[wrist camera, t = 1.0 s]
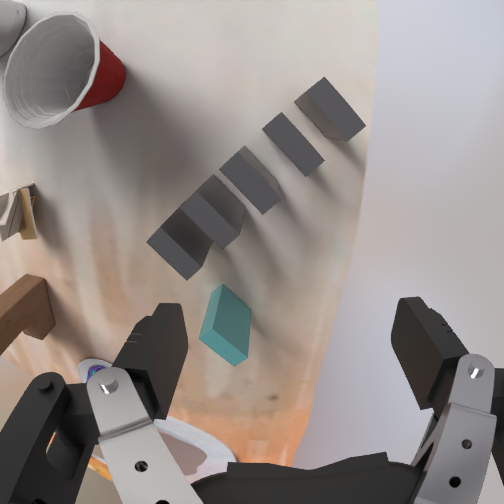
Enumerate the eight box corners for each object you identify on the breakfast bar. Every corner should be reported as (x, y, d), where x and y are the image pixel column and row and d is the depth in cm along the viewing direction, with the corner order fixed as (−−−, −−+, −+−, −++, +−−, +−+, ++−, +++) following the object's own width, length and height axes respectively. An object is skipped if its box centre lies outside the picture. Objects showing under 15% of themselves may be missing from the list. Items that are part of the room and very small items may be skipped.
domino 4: (239, 318, 39) (234, 366, 31) (211, 293, 38) (198, 338, 30) (251, 309, 39) (247, 357, 30) (222, 284, 37) (212, 328, 29)
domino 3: (232, 218, 34) (222, 249, 26) (200, 186, 33) (179, 207, 24) (245, 206, 33) (239, 234, 25) (213, 173, 32) (196, 190, 24)
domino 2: (262, 191, 33) (262, 214, 24) (230, 158, 31) (218, 169, 23) (276, 179, 32) (281, 198, 24) (244, 145, 31) (237, 151, 23)
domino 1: (204, 243, 35) (187, 280, 27) (173, 213, 34) (146, 241, 26) (216, 232, 35) (201, 267, 26) (185, 201, 33) (160, 226, 25)
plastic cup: (142, 123, 30) (86, 126, 19) (65, 125, 30) (-2, 134, 19) (155, 33, 26) (106, -3, 15) (76, 43, 26) (13, 25, 15)
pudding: (149, 382, 46) (141, 405, 41) (127, 410, 50) (119, 431, 45) (88, 344, 43) (74, 364, 38) (74, 378, 47) (62, 396, 42)
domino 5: (294, 163, 31) (305, 176, 23) (262, 129, 30) (261, 129, 22) (308, 151, 31) (324, 160, 23) (276, 116, 30) (281, 111, 21)
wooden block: (56, 325, 42) (-2, 399, 25) (37, 319, 42) (-21, 387, 25) (45, 277, 38) (-29, 347, 22) (25, 272, 38) (-47, 336, 22)
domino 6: (325, 137, 30) (348, 140, 22) (293, 101, 29) (305, 92, 21) (339, 125, 30) (366, 125, 21) (307, 90, 28) (324, 76, 20)
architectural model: (43, 180, 33) (7, 194, 26) (51, 229, 36) (19, 250, 29) (27, 183, 33) (-8, 197, 26) (35, 230, 36) (3, 250, 29)
